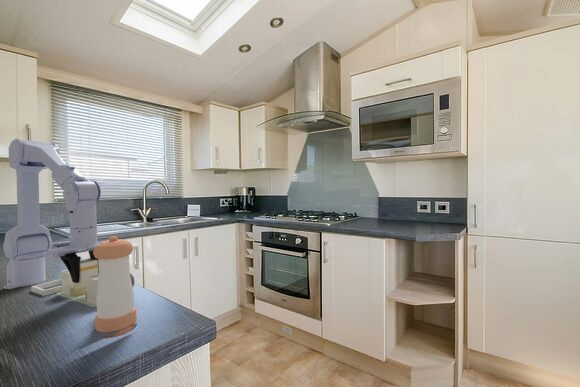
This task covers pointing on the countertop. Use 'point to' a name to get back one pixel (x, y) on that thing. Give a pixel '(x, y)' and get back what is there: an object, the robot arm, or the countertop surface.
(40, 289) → the tray
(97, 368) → the countertop surface
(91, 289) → the block
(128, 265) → the salt shaker
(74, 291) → the fuse block
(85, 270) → the block
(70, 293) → the left fuse
